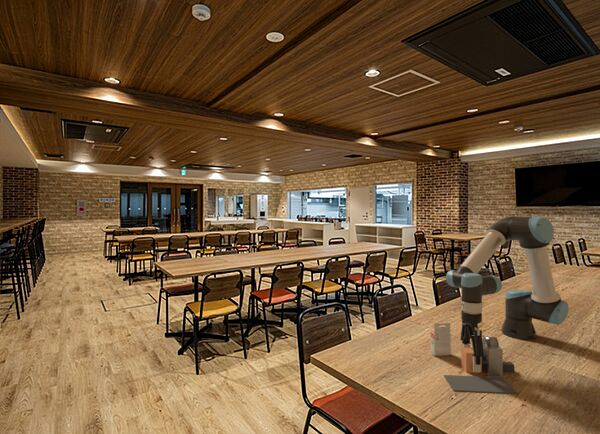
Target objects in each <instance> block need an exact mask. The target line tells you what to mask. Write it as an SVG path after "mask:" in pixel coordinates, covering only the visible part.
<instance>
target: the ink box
mask: <svg viewBox="0 0 600 434" xmlns="http://www.w3.org/2000/svg"><path fill="white" fill-rule="evenodd" d="M433 326H434V327H433V328H434V331H430V354H431V355H432V356H434V357H439V356H440V357H441V356H443V357H444V356H451V353H452V351H451V348H452V347H451V345H452V344H451V341H452V340H451V338H452V336H451V322H447V323H434V325H433Z"/></svg>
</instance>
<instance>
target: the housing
mask: <svg viewBox="0 0 600 434" xmlns="http://www.w3.org/2000/svg"><path fill="white" fill-rule="evenodd" d="M482 343H483V352H484V357H482V361H487V372H486V374H487V377H503V374H504V372H503V362H504V361H503V360H504V359H503V358H504V355H503V354H504V349H503V348H501V347H500V344H499V340H498V338H497V337H495V336H483V337H482ZM503 378H504V377H503Z"/></svg>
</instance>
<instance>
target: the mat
mask: <svg viewBox="0 0 600 434" xmlns="http://www.w3.org/2000/svg"><path fill="white" fill-rule="evenodd" d="M443 377H444V379H445V380H446V382H447V383H448V385H449V386H450V388H451V389H452V391H453V392H462V393H463V392H466V393H467V392H470V393H484V394H485V393H488V394H513V395H518V394H519V392H518V391H517V390H516V389H515V388H514V387H513V386H512V385H511V384H510V383H509V382H508V381H507V380H506V379H505V377H489V376H481V375H480V376H478V375H477V376H476V375H473V376H472V375H452V374H448V375H447V374H444V375H443Z"/></svg>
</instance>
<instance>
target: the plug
mask: <svg viewBox="0 0 600 434" xmlns="http://www.w3.org/2000/svg"><path fill="white" fill-rule="evenodd" d="M473 354H474V351H473V347H470V348H463V347H461V357H460V358H461V361H460V363H461V366H460V367H461V368H462V370H464V371H465V373H469V374H470V373H473V374H474V373H475V374H481V373H482V372H485V373H487V361H482V357H481V372H473V356H472V355H473ZM503 373H512V374H513V373H515V364H514V363H513V362H512V361H503Z"/></svg>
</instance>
